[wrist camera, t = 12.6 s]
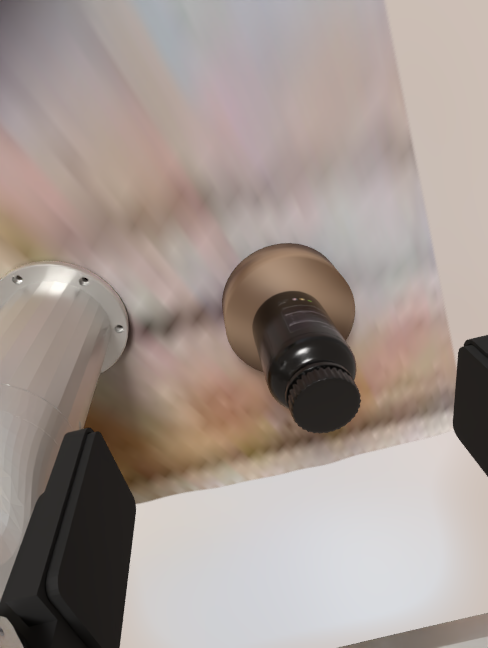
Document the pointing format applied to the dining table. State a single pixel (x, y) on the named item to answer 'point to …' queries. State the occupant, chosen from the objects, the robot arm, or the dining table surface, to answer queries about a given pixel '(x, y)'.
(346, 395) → the supplement bottle
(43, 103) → the dining table surface
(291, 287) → the walnut stand
